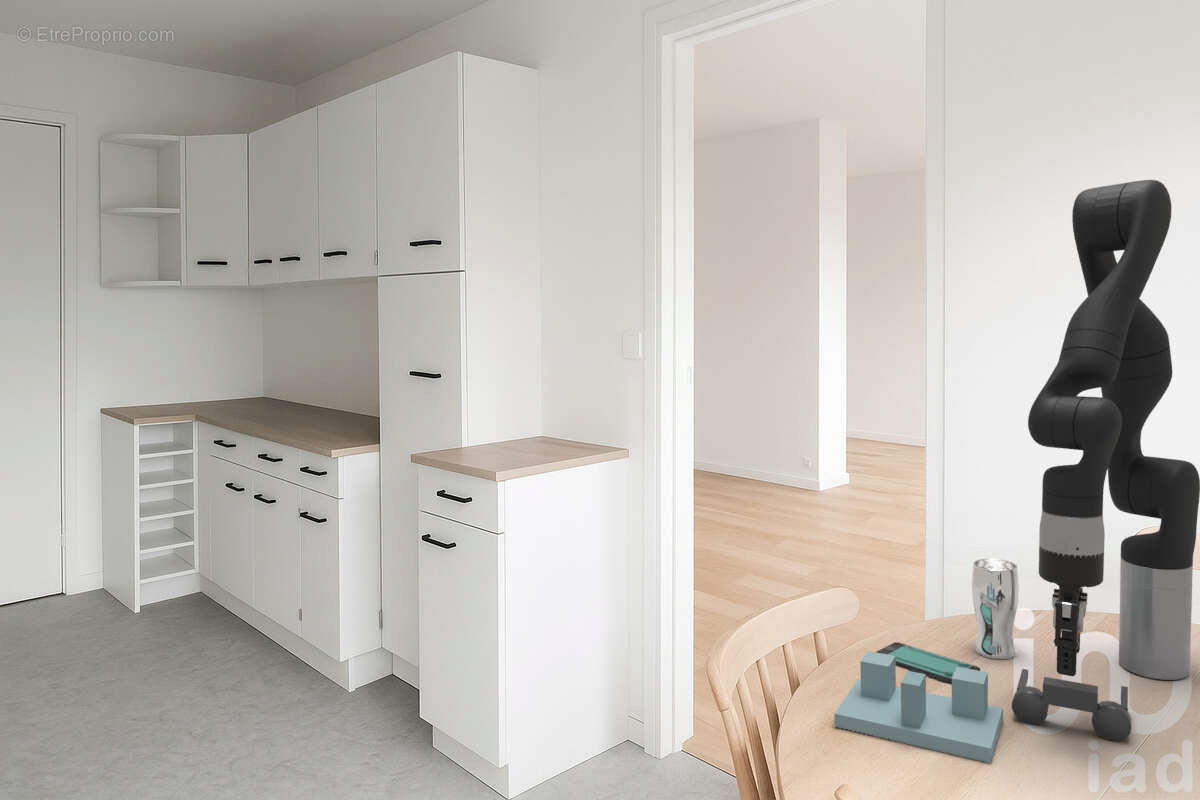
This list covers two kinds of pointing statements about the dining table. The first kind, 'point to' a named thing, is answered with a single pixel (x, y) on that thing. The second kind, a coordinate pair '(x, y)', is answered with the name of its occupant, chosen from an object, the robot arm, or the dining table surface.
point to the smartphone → (925, 662)
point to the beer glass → (995, 606)
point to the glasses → (1072, 705)
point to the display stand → (922, 710)
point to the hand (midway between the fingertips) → (1068, 662)
